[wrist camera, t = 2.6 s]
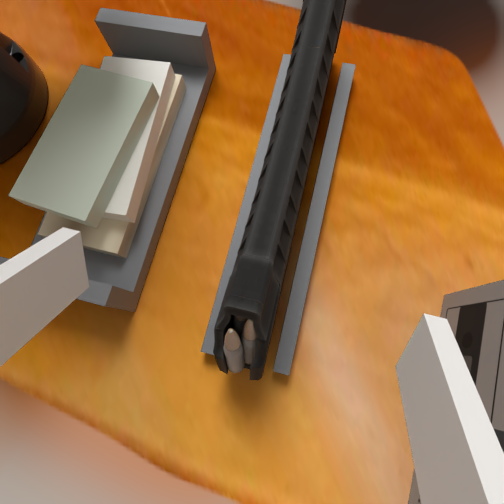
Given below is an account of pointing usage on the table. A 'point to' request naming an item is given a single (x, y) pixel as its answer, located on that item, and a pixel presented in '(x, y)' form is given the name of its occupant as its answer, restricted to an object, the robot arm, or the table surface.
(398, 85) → the table surface
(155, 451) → the table surface
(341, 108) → the rack
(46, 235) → the offcut
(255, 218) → the magazine
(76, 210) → the offcut
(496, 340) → the cassette player
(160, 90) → the offcut
